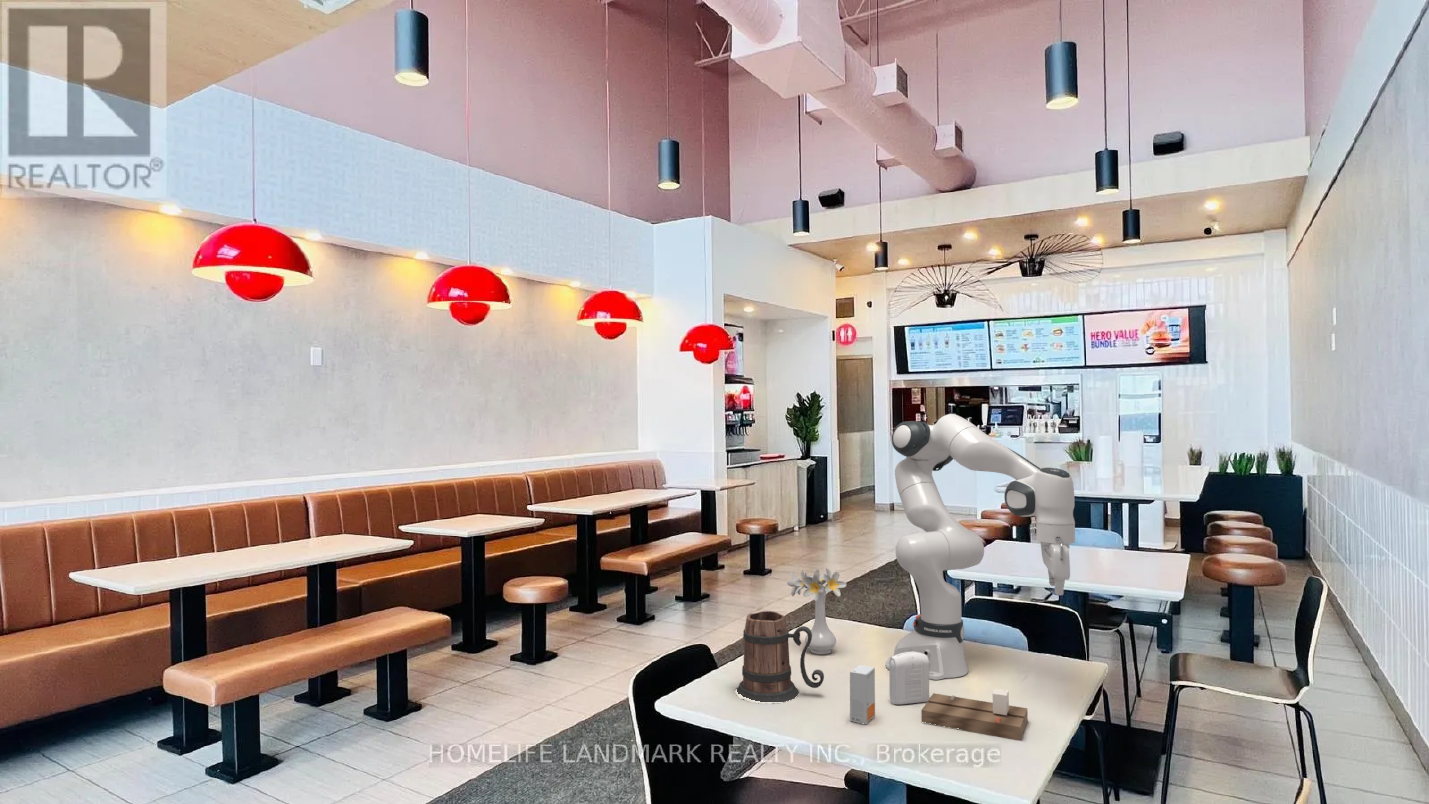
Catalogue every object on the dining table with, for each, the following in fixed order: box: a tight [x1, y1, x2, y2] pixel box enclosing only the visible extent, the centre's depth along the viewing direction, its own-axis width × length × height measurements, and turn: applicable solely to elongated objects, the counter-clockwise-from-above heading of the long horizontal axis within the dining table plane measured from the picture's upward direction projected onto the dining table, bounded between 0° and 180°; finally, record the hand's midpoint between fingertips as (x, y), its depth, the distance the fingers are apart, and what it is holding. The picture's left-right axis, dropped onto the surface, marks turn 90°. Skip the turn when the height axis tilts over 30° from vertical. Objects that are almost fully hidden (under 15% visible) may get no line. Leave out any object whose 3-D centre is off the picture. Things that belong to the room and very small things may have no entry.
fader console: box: [920, 693, 1029, 741], centre depth 188 cm, size 22×12×3 cm, turn 61°
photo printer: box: [888, 652, 930, 705], centre depth 201 cm, size 10×4×12 cm, turn 104°
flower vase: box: [786, 567, 847, 656], centre depth 241 cm, size 13×18×25 cm
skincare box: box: [849, 664, 876, 725], centre depth 190 cm, size 6×4×12 cm
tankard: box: [736, 610, 825, 703], centre depth 208 cm, size 24×17×20 cm
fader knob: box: [992, 688, 1010, 715], centre depth 185 cm, size 3×4×6 cm
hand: (1056, 589), depth 197 cm, fingers open, 8 cm apart
